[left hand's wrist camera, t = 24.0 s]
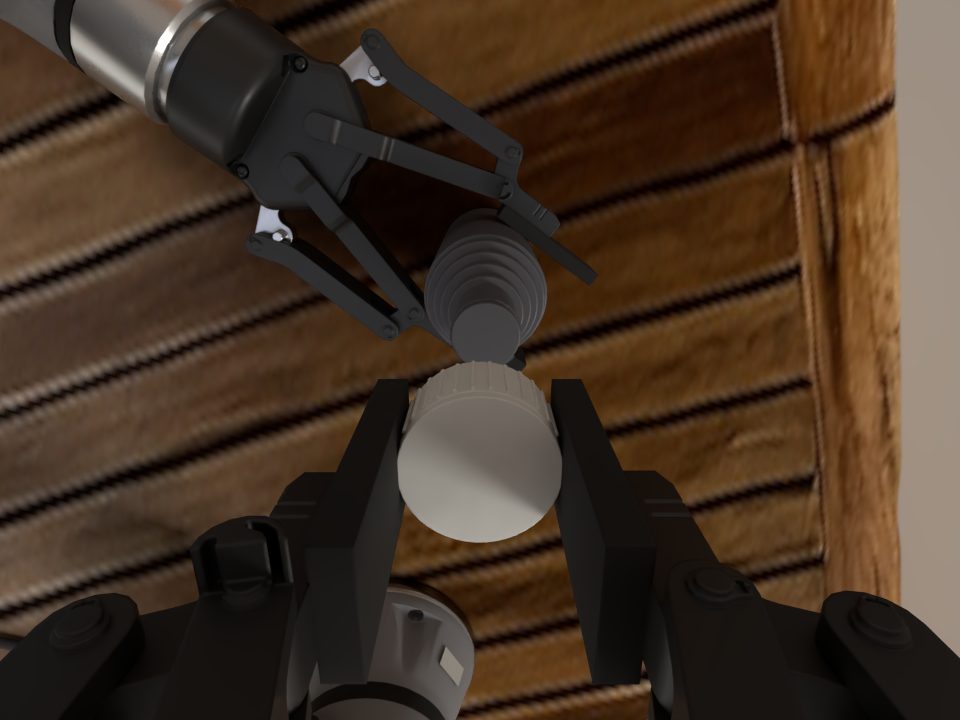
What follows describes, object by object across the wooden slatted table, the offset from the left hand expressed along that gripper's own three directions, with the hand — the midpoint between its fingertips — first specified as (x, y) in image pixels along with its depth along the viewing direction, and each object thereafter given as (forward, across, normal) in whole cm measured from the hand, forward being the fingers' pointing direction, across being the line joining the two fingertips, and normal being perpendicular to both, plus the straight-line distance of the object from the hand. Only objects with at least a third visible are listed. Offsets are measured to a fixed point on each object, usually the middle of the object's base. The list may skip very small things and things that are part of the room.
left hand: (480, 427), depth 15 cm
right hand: (+19, -4, +2) cm, 20 cm away
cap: (-2, 0, 0) cm, 2 cm away
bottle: (+26, 0, 0) cm, 26 cm away
